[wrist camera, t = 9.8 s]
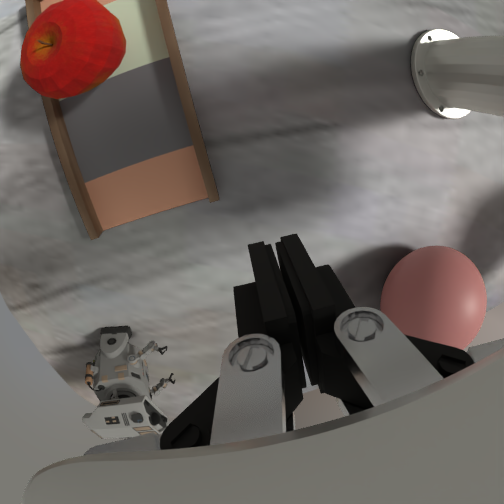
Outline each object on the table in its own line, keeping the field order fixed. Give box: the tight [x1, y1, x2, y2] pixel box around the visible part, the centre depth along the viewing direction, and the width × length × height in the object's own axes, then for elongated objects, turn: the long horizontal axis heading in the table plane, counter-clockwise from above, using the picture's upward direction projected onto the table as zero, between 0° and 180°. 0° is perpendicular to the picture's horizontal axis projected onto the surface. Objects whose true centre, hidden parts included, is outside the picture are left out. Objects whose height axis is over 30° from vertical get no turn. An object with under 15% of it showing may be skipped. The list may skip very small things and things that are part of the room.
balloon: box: [380, 246, 487, 350], centre depth 37 cm, size 15×20×15 cm
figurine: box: [82, 326, 175, 439], centre depth 35 cm, size 9×12×15 cm
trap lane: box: [25, 0, 219, 240], centre depth 25 cm, size 15×31×2 cm, turn 13°
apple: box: [20, 0, 126, 99], centre depth 19 cm, size 9×9×12 cm
